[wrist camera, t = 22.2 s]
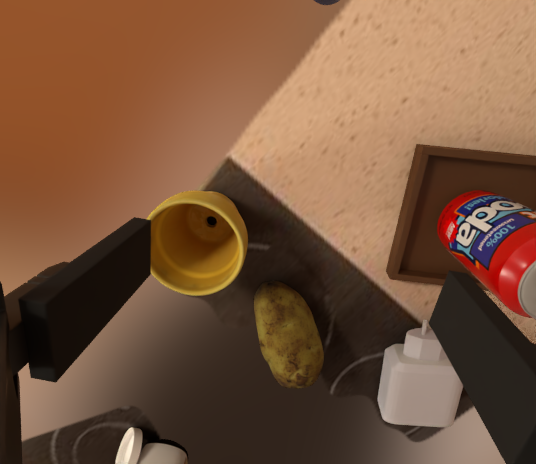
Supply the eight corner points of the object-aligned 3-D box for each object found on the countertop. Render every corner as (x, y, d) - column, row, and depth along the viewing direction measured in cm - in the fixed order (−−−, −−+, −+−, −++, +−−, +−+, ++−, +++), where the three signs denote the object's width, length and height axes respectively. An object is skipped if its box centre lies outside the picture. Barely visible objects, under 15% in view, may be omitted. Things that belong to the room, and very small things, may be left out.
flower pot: (257, 256, 43) (247, 297, 34) (178, 256, 44) (147, 297, 35) (252, 174, 40) (240, 196, 30) (166, 177, 40) (128, 199, 31)
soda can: (451, 264, 41) (533, 347, 27) (421, 212, 39) (493, 273, 25) (517, 230, 39) (642, 301, 25) (488, 173, 37) (607, 217, 23)
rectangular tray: (416, 144, 37) (423, 146, 35) (563, 158, 37) (578, 161, 35) (385, 271, 43) (390, 279, 41) (512, 285, 42) (523, 294, 40)
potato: (319, 272, 43) (324, 307, 36) (321, 353, 48) (326, 400, 40) (254, 274, 44) (246, 309, 37) (262, 354, 49) (257, 400, 41)
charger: (462, 310, 44) (440, 399, 49) (389, 307, 44) (376, 395, 50) (481, 333, 39) (455, 428, 45) (399, 330, 40) (384, 423, 45)
